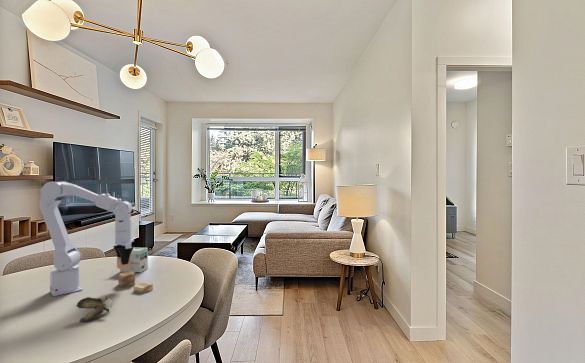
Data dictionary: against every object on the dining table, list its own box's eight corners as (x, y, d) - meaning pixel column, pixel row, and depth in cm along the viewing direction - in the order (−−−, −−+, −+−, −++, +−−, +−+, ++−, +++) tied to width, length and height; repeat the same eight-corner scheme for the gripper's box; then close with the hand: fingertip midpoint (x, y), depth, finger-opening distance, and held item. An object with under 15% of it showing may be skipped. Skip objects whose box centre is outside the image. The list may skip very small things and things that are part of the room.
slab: (141, 294, 122) (141, 288, 121) (133, 292, 124) (133, 285, 124) (152, 290, 126) (152, 284, 126) (144, 288, 128) (144, 282, 128)
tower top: (122, 282, 128) (122, 276, 128) (118, 279, 132) (118, 273, 132) (135, 279, 131) (135, 273, 131) (131, 276, 135) (131, 271, 135)
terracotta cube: (119, 269, 126) (119, 259, 126) (116, 267, 129) (116, 257, 129) (130, 267, 129) (130, 257, 129) (127, 265, 132) (127, 255, 132)
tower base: (121, 288, 128) (121, 282, 128) (118, 285, 132) (118, 279, 132) (134, 285, 131) (134, 279, 131) (131, 282, 135) (131, 276, 135)
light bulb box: (148, 268, 154) (148, 247, 154) (140, 273, 148) (140, 250, 147) (128, 268, 155) (128, 246, 155) (119, 272, 149) (119, 249, 149)
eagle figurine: (101, 304, 108) (72, 309, 101) (110, 289, 107) (81, 292, 99) (108, 322, 104) (79, 327, 97) (118, 306, 103) (89, 310, 95)
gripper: (139, 231, 126) (139, 264, 126) (128, 227, 137) (128, 258, 137) (120, 233, 121) (120, 268, 121) (110, 229, 132) (110, 261, 132)
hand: (123, 263), depth 129 cm, fingers closed on terracotta cube, 4 cm apart
